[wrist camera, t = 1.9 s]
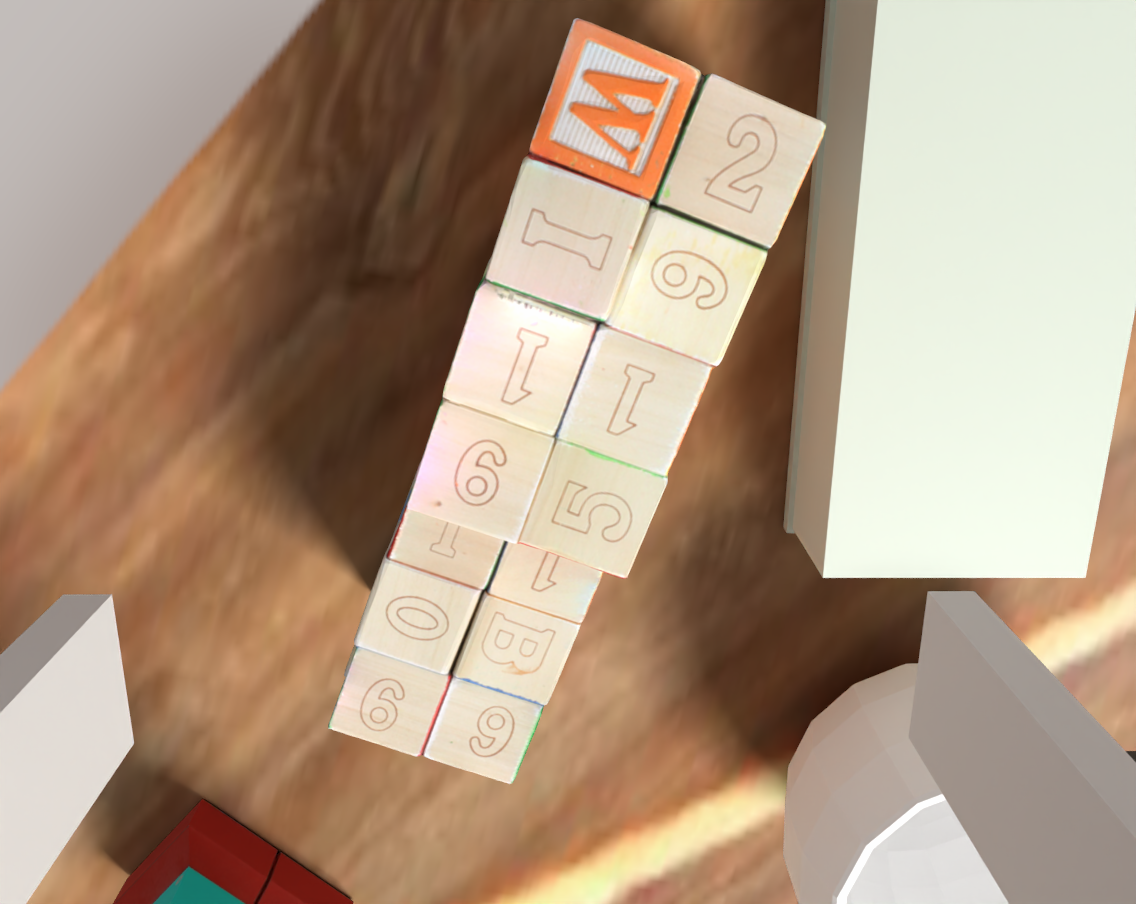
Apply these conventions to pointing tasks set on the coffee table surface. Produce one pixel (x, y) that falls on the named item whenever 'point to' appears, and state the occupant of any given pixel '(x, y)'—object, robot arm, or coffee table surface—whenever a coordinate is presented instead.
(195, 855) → the toy robot
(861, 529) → the plinth
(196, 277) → the coffee table surface
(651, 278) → the stack of blocks
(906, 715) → the cup
